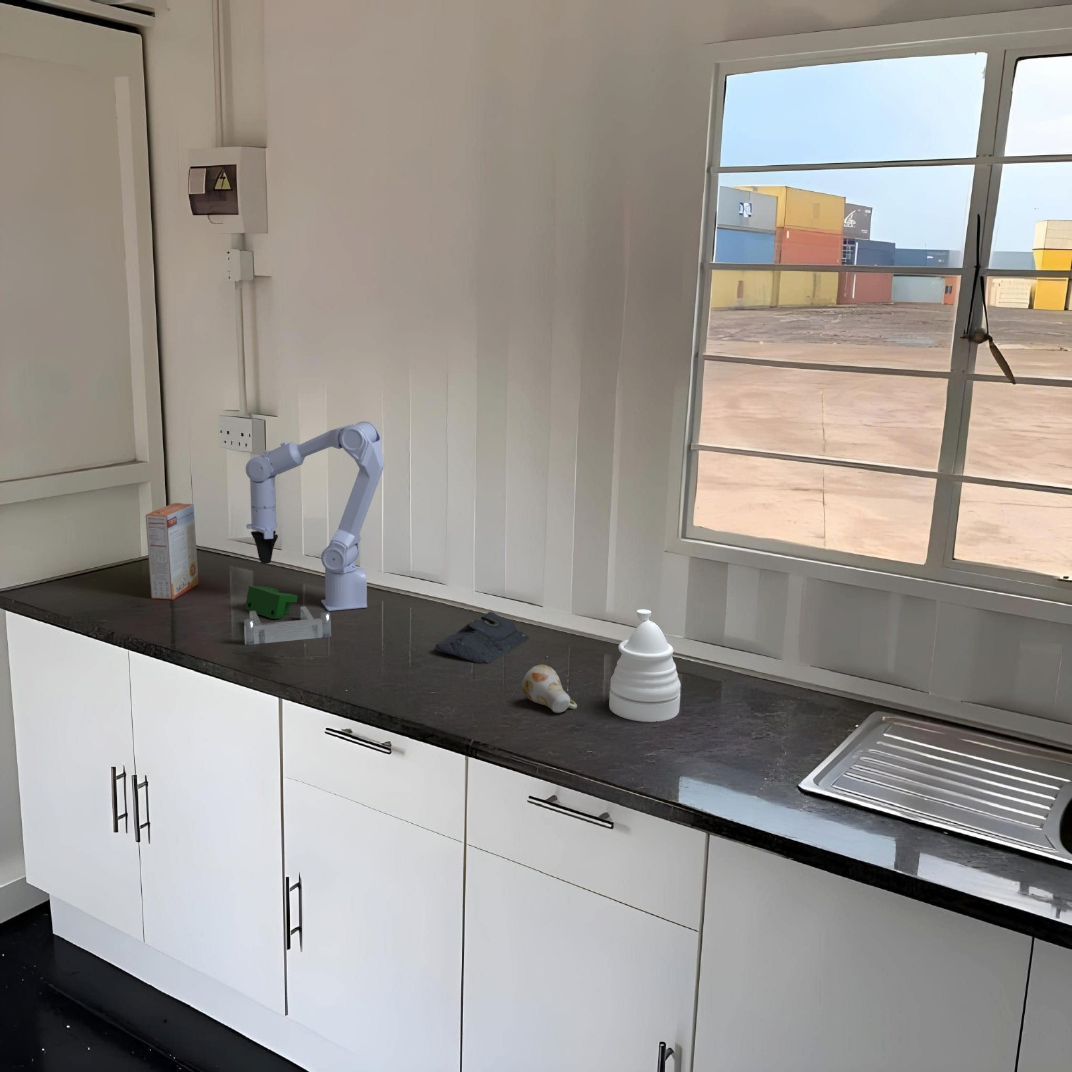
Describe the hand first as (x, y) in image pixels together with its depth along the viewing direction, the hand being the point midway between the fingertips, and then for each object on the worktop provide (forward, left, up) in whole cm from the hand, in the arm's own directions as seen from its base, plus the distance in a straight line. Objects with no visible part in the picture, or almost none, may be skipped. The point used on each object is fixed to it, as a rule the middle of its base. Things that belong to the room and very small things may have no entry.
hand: (265, 561), depth 247 cm
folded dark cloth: (-38, +46, -10) cm, 61 cm away
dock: (0, +25, -9) cm, 27 cm away
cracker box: (+20, -13, -10) cm, 26 cm away
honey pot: (-55, +89, -10) cm, 105 cm away
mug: (-39, +82, -10) cm, 92 cm away
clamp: (0, +11, -10) cm, 15 cm away
